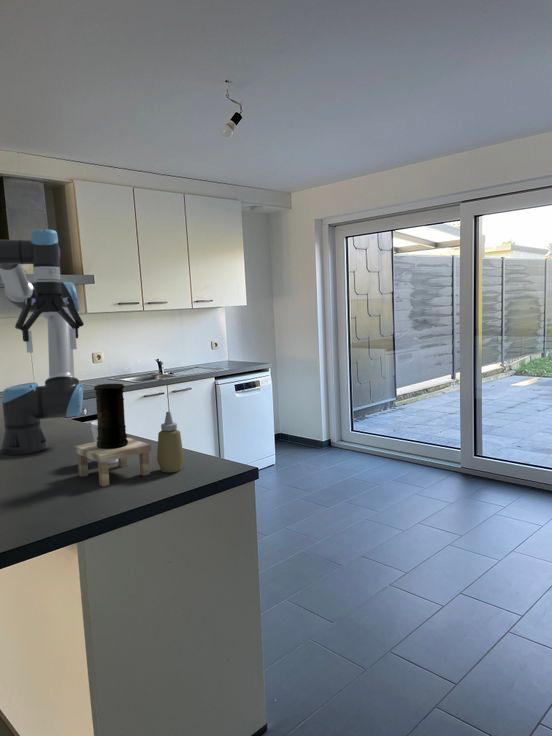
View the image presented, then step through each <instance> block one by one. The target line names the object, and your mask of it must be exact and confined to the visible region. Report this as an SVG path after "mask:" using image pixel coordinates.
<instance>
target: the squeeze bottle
mask: <svg viewBox="0 0 552 736" xmlns="http://www.w3.org/2000/svg"><path fill="white" fill-rule="evenodd" d="M164 418H165V419H164V422H163V423H161V424H160V429H161V430H160V431H159V432H158V433H157V435H158V437H157V449H156V450H157V453H156V461H157V463H158V466H159V468H160V469H159V470H160V471H161V472H162V473H176V472H179V471H181V469H182V467H183V464H184V459H185V458H184V451H183V449H184V448H183V443H182V437H181V431H180V430H179V429H178V423H177V422H173V421H174V420H173V417H172V413H171V411H166V413H165V417H164Z"/></svg>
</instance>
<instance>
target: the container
mask: <svg viewBox="0 0 552 736" xmlns="http://www.w3.org/2000/svg"><path fill="white" fill-rule="evenodd" d="M124 389H125V385H124V384H123V383H104V384H103V383H102V384H97V385H94V387H93V390H94V393H95V397H96V400H95V403H96V416H97V420H98V428H97V430H98V437H97V440H98V441H97V447H98V448H101V449H115V448H120V447H124V446H126V445H127V444H128V440H127V439H126V438H128V434H127V432H126V431H127V430H126V427H127V426H126V420H125V403H124V400H125V398H124ZM97 420H96V421H97Z"/></svg>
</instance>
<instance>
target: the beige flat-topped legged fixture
mask: <svg viewBox="0 0 552 736" xmlns="http://www.w3.org/2000/svg"><path fill="white" fill-rule="evenodd" d="M126 439H127V440H128V444H127V445H126V446H124V447H120V448H115V449H101V448H98V447H97V442H94V441H93V442H88V443H84V444H79V445H74V453H75V454H76V455H77V467H78V468H77V469H78V476H79V477H82V478H83V477H87V476H89V469H88V468H89V467H88V465H89V464H88V459H90V460H92V461H95V462H97V469H98V483H99V486H101V487H107V486H110V473H109V471H110V470H109V464H108V461H111V460H115V459H118V461H117V462H118V467H121V468H124V467H128V457H132V456H136V455H139V456H138V457H139V474H140V475H141V476H144V477H145V476H148V475H150V472H151V470H150V456H149V455H150V454H149V453H150V452H152V446H151V445H152V444H149V443H146V442H144V441H140V440H137V439H135V438H130V437H127V438H126Z"/></svg>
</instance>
